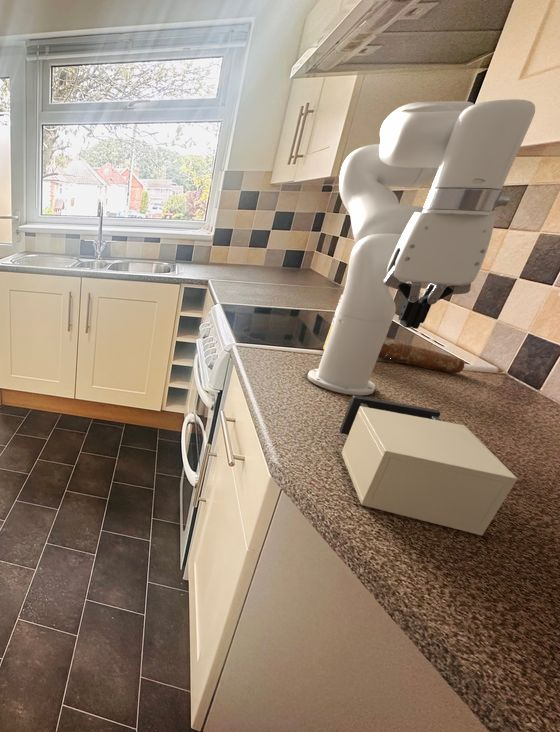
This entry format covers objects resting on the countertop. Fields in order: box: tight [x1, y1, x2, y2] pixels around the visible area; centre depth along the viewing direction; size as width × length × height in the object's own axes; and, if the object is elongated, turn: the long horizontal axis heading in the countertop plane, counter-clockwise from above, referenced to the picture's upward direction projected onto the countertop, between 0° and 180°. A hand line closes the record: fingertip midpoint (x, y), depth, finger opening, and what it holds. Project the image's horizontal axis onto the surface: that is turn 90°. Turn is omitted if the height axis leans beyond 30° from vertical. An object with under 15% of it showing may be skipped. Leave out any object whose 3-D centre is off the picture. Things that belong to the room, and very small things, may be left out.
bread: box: [378, 337, 465, 374], centre depth 105 cm, size 6×19×6 cm, turn 48°
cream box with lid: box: [340, 406, 518, 536], centre depth 57 cm, size 14×13×9 cm
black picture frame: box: [339, 395, 442, 436], centre depth 65 cm, size 17×11×7 cm
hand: (408, 325), depth 68 cm, fingers closed
